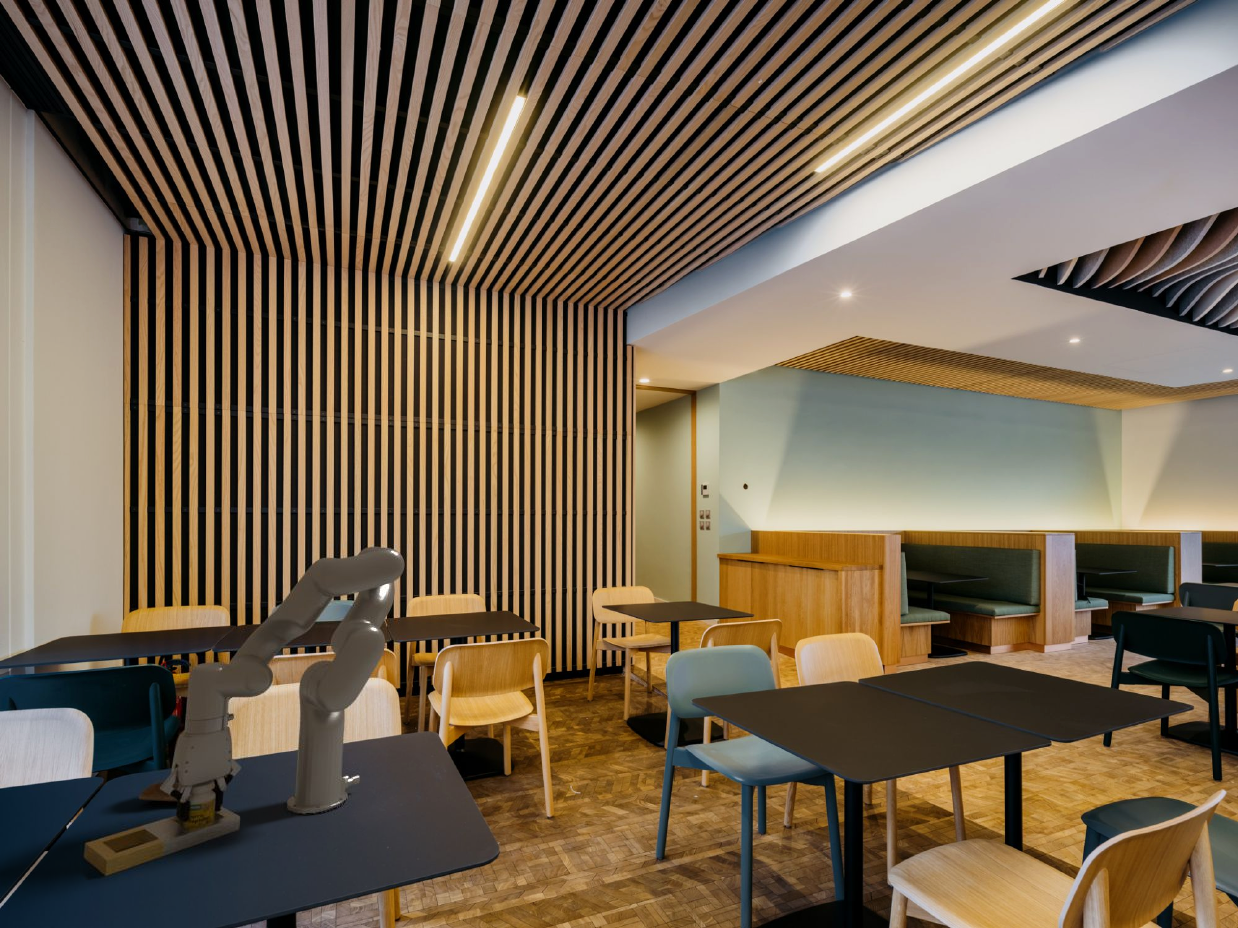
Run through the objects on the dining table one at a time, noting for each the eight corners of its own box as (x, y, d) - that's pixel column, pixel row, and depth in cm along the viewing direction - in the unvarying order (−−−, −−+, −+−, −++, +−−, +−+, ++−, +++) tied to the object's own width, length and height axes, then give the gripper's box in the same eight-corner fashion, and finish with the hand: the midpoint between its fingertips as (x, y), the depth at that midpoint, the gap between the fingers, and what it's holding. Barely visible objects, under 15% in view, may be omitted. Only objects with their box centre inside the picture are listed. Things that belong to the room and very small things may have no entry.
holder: (214, 815, 143) (215, 803, 143) (239, 829, 137) (240, 816, 137) (84, 857, 124) (85, 842, 125) (105, 875, 118) (107, 860, 118)
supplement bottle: (213, 823, 139) (216, 776, 140) (214, 833, 135) (217, 784, 136) (182, 829, 136) (186, 781, 137) (182, 840, 132) (186, 790, 133)
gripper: (240, 712, 147) (234, 797, 145) (151, 730, 133) (143, 824, 131) (257, 718, 143) (251, 805, 141) (167, 737, 129) (159, 835, 127)
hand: (199, 813), depth 136 cm, fingers closed on supplement bottle, 5 cm apart
